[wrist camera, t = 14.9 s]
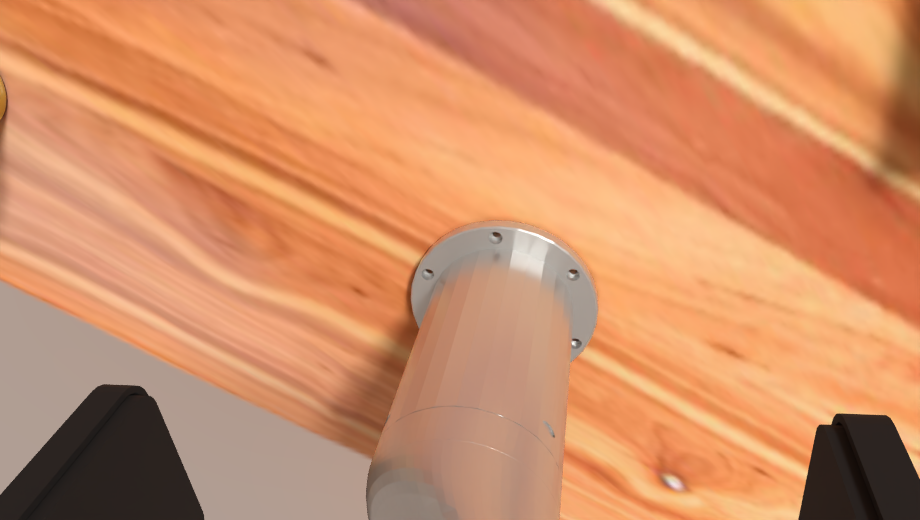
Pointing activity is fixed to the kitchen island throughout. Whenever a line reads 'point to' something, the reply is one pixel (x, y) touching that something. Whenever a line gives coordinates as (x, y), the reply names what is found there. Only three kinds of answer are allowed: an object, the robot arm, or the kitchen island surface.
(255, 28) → the kitchen island surface
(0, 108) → the plant pot
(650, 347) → the kitchen island surface
